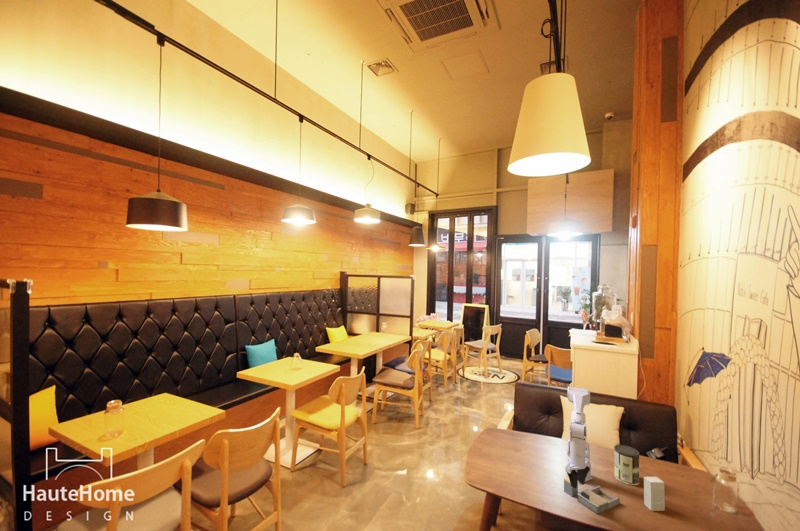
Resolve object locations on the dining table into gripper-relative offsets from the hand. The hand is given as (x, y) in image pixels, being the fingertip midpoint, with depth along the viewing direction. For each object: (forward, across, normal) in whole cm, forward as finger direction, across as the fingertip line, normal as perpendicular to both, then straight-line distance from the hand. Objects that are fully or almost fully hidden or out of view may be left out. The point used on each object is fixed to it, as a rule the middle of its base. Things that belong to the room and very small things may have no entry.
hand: (577, 485), depth 141 cm
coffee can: (+10, -42, 0) cm, 43 cm away
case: (+10, -12, +2) cm, 16 cm away
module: (+10, -8, -8) cm, 15 cm away
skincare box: (+10, -30, +16) cm, 35 cm away
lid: (+7, -8, +2) cm, 11 cm away
